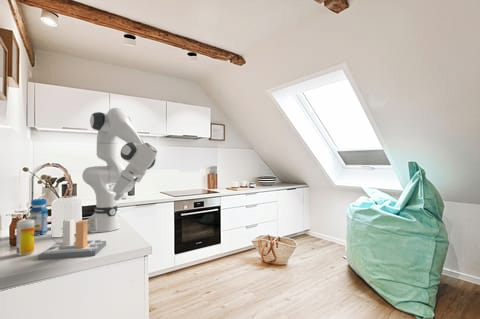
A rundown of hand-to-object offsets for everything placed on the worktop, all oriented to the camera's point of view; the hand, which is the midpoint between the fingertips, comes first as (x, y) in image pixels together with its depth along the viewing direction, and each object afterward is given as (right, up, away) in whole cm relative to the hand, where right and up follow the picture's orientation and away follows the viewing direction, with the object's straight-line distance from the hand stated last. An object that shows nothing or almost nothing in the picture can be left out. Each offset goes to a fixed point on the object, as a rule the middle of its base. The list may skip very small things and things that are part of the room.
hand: (116, 199), depth 119 cm
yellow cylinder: (-38, -24, -5) cm, 45 cm away
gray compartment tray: (-18, -23, -2) cm, 29 cm away
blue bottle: (-58, -25, +28) cm, 69 cm away
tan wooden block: (-13, -21, -5) cm, 25 cm away
